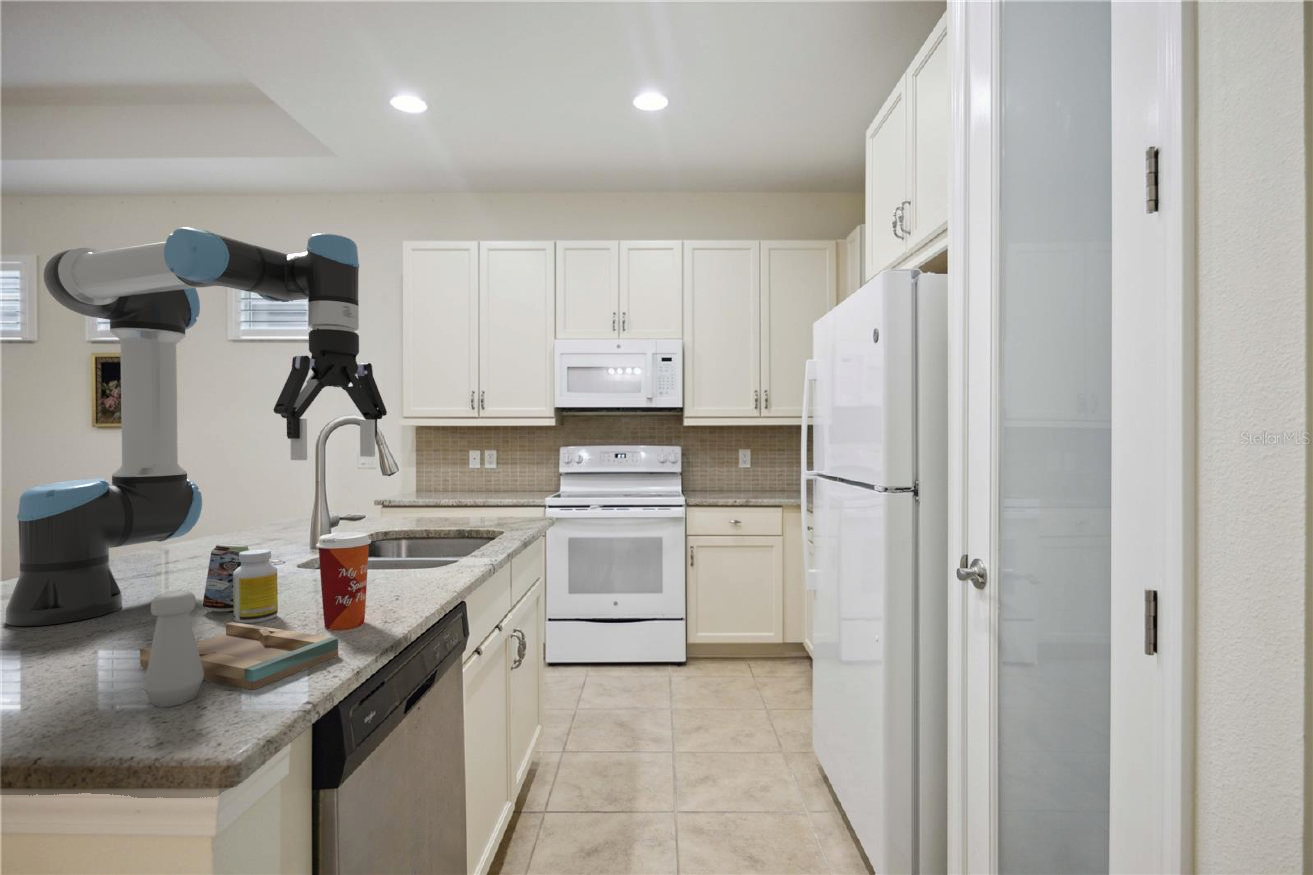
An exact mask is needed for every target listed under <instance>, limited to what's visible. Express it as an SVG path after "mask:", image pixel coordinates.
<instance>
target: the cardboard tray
mask: <svg viewBox="0 0 1313 875" xmlns="http://www.w3.org/2000/svg"><path fill="white" fill-rule="evenodd" d="M196 644H197V648H198V652H199V656H200V660H201V664H202V667H203V671H204V677H203V680H204V681H208V682H213V683H216V684H217V683H218V684H223V685H227V686H233V687H237V688H241V689H247V690H253V691H254V690H257V689H259V688H261V687H264V686H266V685H269V684H271V683H274V682H276V681H279V680H281V678H282V679H283V678H287V677H288V676H291V675H293V673H294V674H296V673H299V672H301V671H304V670H306V669H308V668H311V667H314V666H316V665H319V664H321V663H324V662H325V661H328V660H331V659H333V658H336V657H339V638H337V637H332V636H331V637H330V636H324V635H317V634H311V633H305V632H299V631H292V630H288V629H287V630H286V629H280V628H279V629H278V628H274V627H268V626H267V627H266V626H260V625H254V624H249V623H239V622H236V621H231V622H227V623H225V633H223V634H219V635H216V636H212V637H210V638H207V639H202V640H199V641H196ZM151 647H152V646H148V645H147V646H145V647H144V646H143V647H141V648H139V667H141V668H145V669H147V668H148V663H149V658H150V653H151ZM303 669H304V670H303Z"/></svg>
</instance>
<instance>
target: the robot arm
mask: <svg viewBox="0 0 1313 875" xmlns="http://www.w3.org/2000/svg"><path fill="white" fill-rule="evenodd" d="M358 252H359V251H358V246H357V244H356V242H355V241H354V240H353V239H350V238H348V237H345V236H343V235H339V234H333V233H315V234H311V236H310V237H308V239H307V246H306V251H304V252H300V253H292V254H291V253H284V252H280V251H276V250H273V249H269V248H266V247H262V246H259V245H255V244H251V243H248V242H244V241H242V240H237V239H234V238H230V237H227V236H223V235H220V234H216V233H214V232H211V231H209V230H203V229H196V228H191V227H187V226H185V227H179V228H176V229H174V230H173V233H171V234H169V235H168V237H167V238H166V241H161V242H155V243H149V244H148V243H147V244H141V245H135V246H130V247H129V246H128V247H120V248H115V249H107V250H102V251H101V250H99V249H96V248H90V247H80V248H79V247H77V248H71V249H67V250H63V251H60V252H58V253H57V254H55V255H53V256H52V257H51V258H50V259H49V260H48V261H47V262H46V264H45V266H44V269H43V282H44V284H45V287H46V289H47V291H48V292H49V294H50V295H51V296H52V297H53V298H54V300H56V301H57V302H58V303H59V304H60V305H62V306H63V307H65V308H67V309H68V310H70V311H72V312H75V313H77V314H79V315H83V316H85V317H91V318H97V319H103V320H109V331H110V333H111V334H112V335H113V336H115V337H116V338H117V339H119V341H120V398H121V399H120V405H121V408H120V409H121V414H120V416H121V466H120V467H119V468H118V469H117V470H115V471H114V472H113V473H112V474H111V484H110V483H109V482H108V480H107V479H106V478H99V477H98V478H83V479H74V480H65V481H58V482H53V483H47V484H42V485H38V486H34V487H31V488H29V489H27V490H25V491H24V492H22V494H21V495H20V497H19V504H18V505H19V506H18V513H17V515H16V516H17V517H16V519H17V520H18V522H17V523H18V547H19V548H18V550H19V551H18V552H19V576H18V579H17V581H16V584H15V586H14V589H13V590H12V594H11V596H10V598H9V600H8V602H7V606H6V609H5V623H6V624H7V625H8V626H14V627H15V626H16V627H36V626H38V627H39V626H49V625H56V624H63V623H66V624H67V623H71V622H77V621H83V620H86V619H88V620H89V619H92V618H96V617H100V616H104V615H107V614H110V613H113V612H116V611H118V610H120V609H121V608H122V606H123V596H122V591H121V589H120V587H119V585H118V583H117V581H116V578H115V576H114V573H113V571H112V569H111V568H110V552H109V551H110V549H112V548H119V547H124V546H125V547H126V546H132V545H137V544H138V545H139V544H144V543H151V542H152V543H153V542H159V543H160V542H165V541H167V540H171V539H175V538H181V537H183V536H185V535H186V534H188V533H189V532H191V530H192V529H193V528H194V527H195V526H196V525H197V523H198V521H199V519H200V517H201V513H202V508H203V497H202V493H201V491H199V486H198V485H197V484H196V483H195V482H194V481H193V480H189V479H188V472H187V470H186V469H184V468H183V467H182V466H181V465H179V462H178V392H177V391H178V390H177V389H178V388H177V386H178V384H177V382H178V381H177V380H178V377H177V376H178V375H177V374H178V373H177V345H178V343H180V342H181V341H182V340H183V339H184V338H185V337H186V330H188V329H190V328H192V327H194V326H195V325H196V323H197V322H198V320H197V318H198V317H199V316H200V310H201V303H200V302H201V301H200V298H199V294H198V291H197V289H198V288H208V287H223V288H229V289H234V290H240V291H244V292H249V293H253V294H257V295H258V296H259V297H260V298H262V299H264V300H266V301H268V302H269V301H270V302H282V303H289V302H293V301H299V300H307V302H308V306H307V309H308V310H307V311H308V314H307V320H308V321H307V322H308V323H307V326H308V327H309V328H310V329H311V330H309V332H308V351H309V353H310V354H311V355H295V356H293V357H292V363H291V370H290V373H289V375H288V377H287V379H286V381H285V382H284V385H283V387H282V390H281V391H280V394H279V396H278V398H277V401H276V403H275V405H274V407H273V412H274V413H275V414H277V415H280V416H281V418H282V419H286V437H287V439H288V440H290V461H308V422H307V420H308V418H302V417H303V415H305V414H304V413H305V412H306V411H307V410H308V409H309V407H310V406H311V405H312V404H313V402H314V401H315V399H316V398H317V396H319V394H320V393H321V391H322V390H323V389H324V388H327V387H333V388H341V389H342V390H344V391H345V392H346V394H347V395H348V396H349V398H350V399H351V401H352V402H353V404H354V405H355V407H356V408H357V409H358V411H359V412H360V414H361V416H363V419H360V420H359V443H360V444H359V453H360V454H359V455H360V457H365V458H366V457H371V458H372V457H376V438H377V437H378V420H381V419H383V417H385V416H387V414H388V411H387V408H386V406H385V404H384V401H383V398H382V396H381V393H380V390H379V388H378V385H377V383H376V380H375V378H374V374H373V372H374V371H373V365H372V363H370V362H364V363H358V362H357V356H358V355H359V354H360V336H359V334H358V333H357V331H358V330H360V329H359V327H360V323H359V322H360V321H359V320H360V318H359V313H360V312H359V311H360V310H359V307H360V306H359V268H360V264H359V255H358ZM196 288H197V289H196ZM309 356H311V357H309ZM310 370H311V371H312V374H311V375H310V376H309V378H307V377H308V375H309V372H310ZM306 379H307V380H306ZM305 382H306V384H305Z"/></svg>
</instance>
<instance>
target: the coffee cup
mask: <svg viewBox="0 0 1313 875" xmlns="http://www.w3.org/2000/svg"><path fill="white" fill-rule="evenodd" d="M371 543H372V540H371V539H369V535H368V533H367V532H360V531H348V532H334V533H328V534H323V535H320V536H319V539H318V543H316V545H315V547H317V548H318V557H319V571H320V572H319V574H320V585H321V586H320V587H321V598H322V599H321V601H322V611H323V612H322V613H323V623H324V624H323V625H324V629H326V630H328V631H346V630H352V629H356V628H360V627H361V626H362V625H364V624H365V618H366V606H367V605H366V603H367V602H366V601H367V598H366V597H367V587H368V586H367V584H368V571H369V570H368V567H369V566H368V565H369V550H370V549H369V547H370V546H369V545H370V544H371Z"/></svg>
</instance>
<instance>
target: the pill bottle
mask: <svg viewBox="0 0 1313 875" xmlns="http://www.w3.org/2000/svg"><path fill="white" fill-rule="evenodd" d="M270 559H272V550H271V549H264V548H263V549H260V548H259V549H249V551H243V552H240V553H239V562H241V566H240V567H238V568H237V569H236V570H235V571H234V573H233V597H234V610H233V619H234V622H235V623H242V624H254V623H261V622H267V621H270V620H272V619H274V618H275V617H276V616H277V615H278V612H279V611H278V610H279V609H278V608H279V604H278V602H279V601H278V600H279V599H278V595H279V594H278V592H279V591H278V568H277V566H276V565H275V564H273V563H271V562H270Z"/></svg>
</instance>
